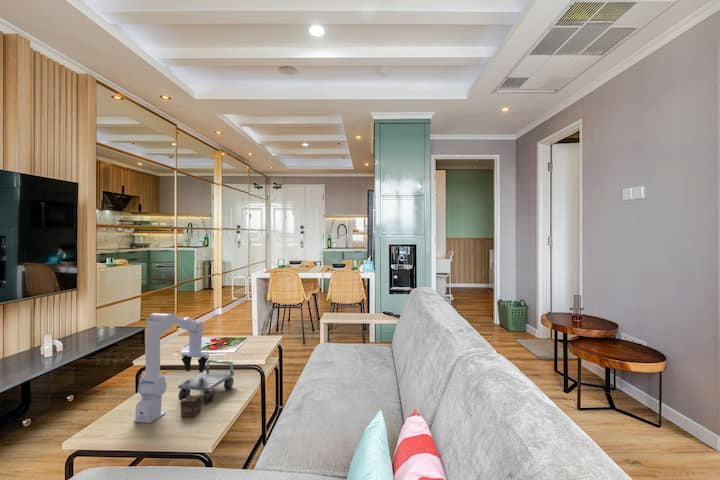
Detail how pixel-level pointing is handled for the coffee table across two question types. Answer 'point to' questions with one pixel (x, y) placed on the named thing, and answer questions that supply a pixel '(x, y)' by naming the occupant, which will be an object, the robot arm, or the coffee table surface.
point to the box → (190, 406)
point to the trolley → (207, 382)
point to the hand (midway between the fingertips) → (194, 371)
